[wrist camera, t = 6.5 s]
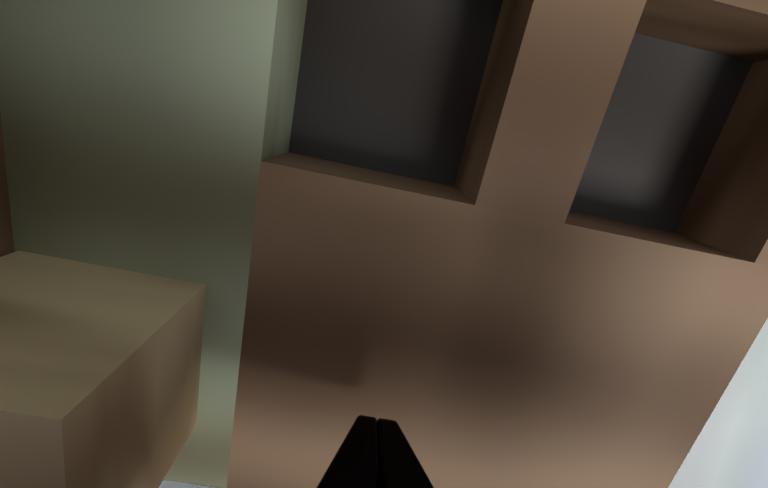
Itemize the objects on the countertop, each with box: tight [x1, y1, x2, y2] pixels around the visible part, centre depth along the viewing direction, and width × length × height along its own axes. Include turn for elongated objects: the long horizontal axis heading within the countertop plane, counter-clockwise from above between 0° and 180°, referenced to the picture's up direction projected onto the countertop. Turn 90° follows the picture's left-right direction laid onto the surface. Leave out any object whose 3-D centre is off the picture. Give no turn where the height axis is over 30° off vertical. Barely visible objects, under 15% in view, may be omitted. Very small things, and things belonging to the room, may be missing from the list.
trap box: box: [0, 0, 768, 488], centre depth 8 cm, size 15×18×6 cm
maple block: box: [0, 251, 206, 488], centre depth 7 cm, size 4×4×4 cm
